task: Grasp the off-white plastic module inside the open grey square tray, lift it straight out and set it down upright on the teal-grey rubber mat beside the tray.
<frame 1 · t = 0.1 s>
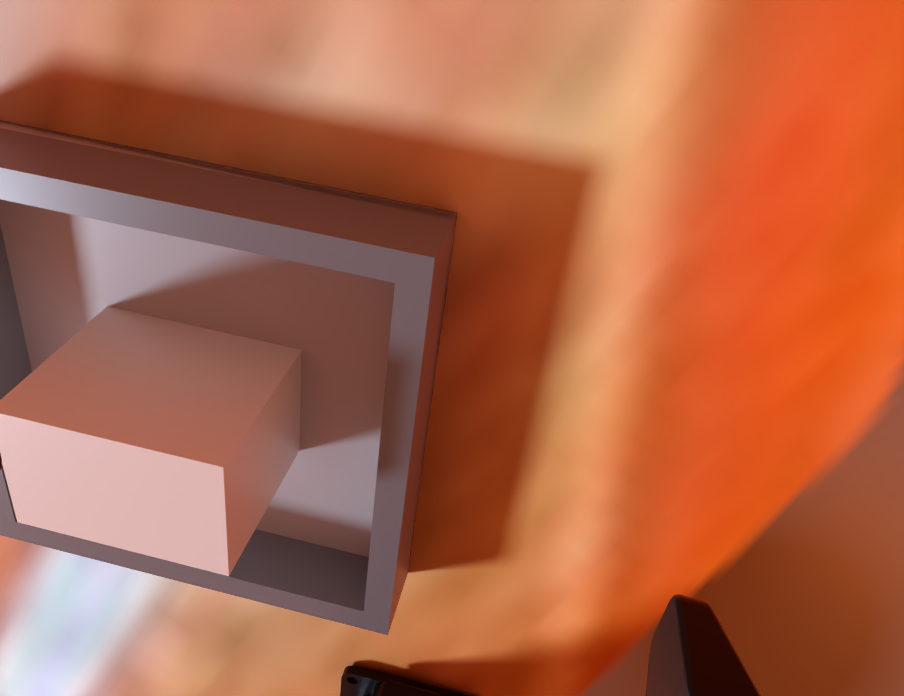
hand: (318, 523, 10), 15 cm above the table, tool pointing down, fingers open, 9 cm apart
grey square tray: (212, 372, 29), on the table
module: (206, 380, 28), resting on grey square tray
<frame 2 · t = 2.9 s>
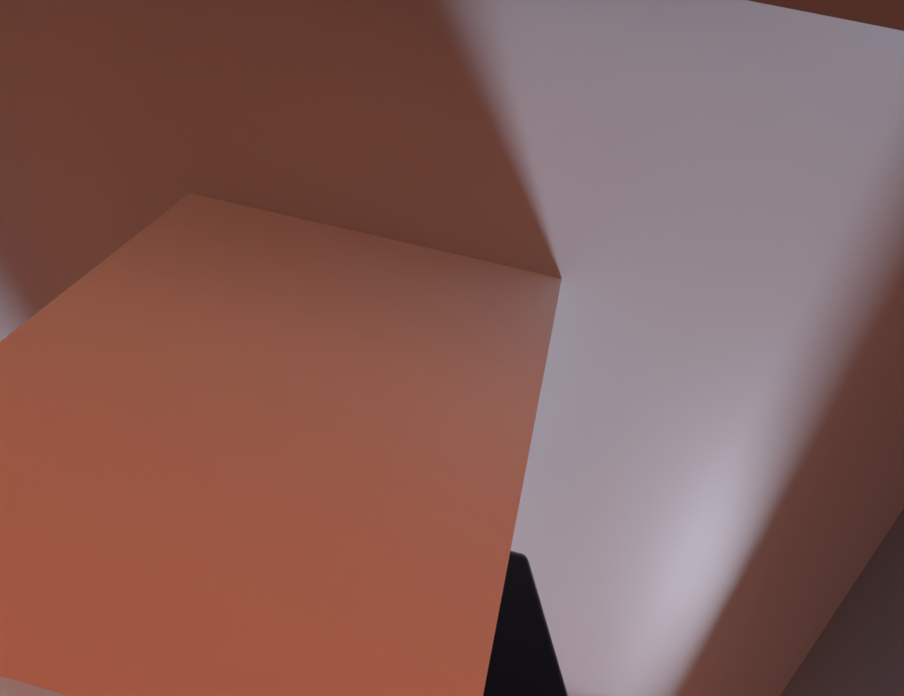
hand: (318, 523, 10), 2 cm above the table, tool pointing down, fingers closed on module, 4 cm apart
grey square tray: (359, 435, 12), on the table
module: (349, 457, 11), resting on grey square tray, touching gripper
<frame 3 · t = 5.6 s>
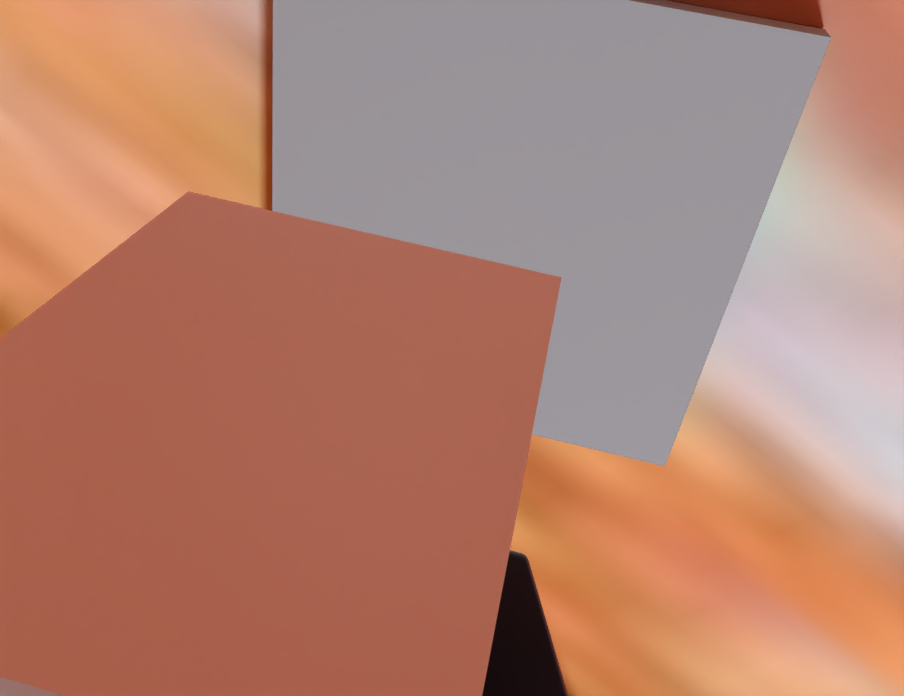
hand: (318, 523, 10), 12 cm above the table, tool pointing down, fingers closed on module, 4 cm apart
module: (348, 456, 11), point 11 cm above the table, touching gripper
mat: (501, 224, 21), on the table
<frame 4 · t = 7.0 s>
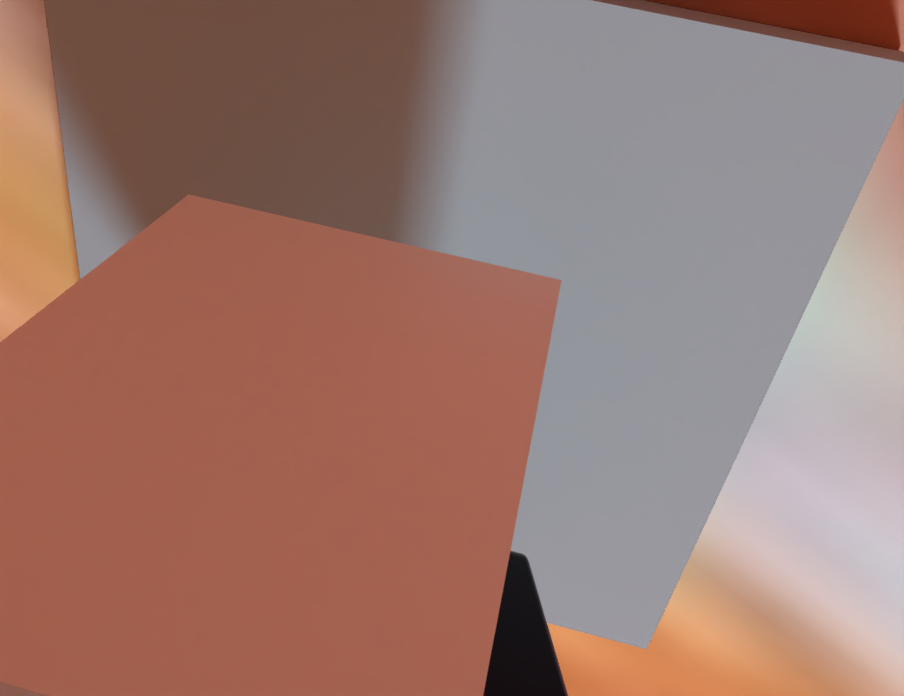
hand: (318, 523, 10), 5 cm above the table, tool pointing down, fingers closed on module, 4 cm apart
module: (348, 459, 11), point 4 cm above the table, touching gripper
mat: (412, 323, 14), on the table
when the fingers open (3 cm above the table, at t = 8.2 s): module drops 1 cm, resting on mat.
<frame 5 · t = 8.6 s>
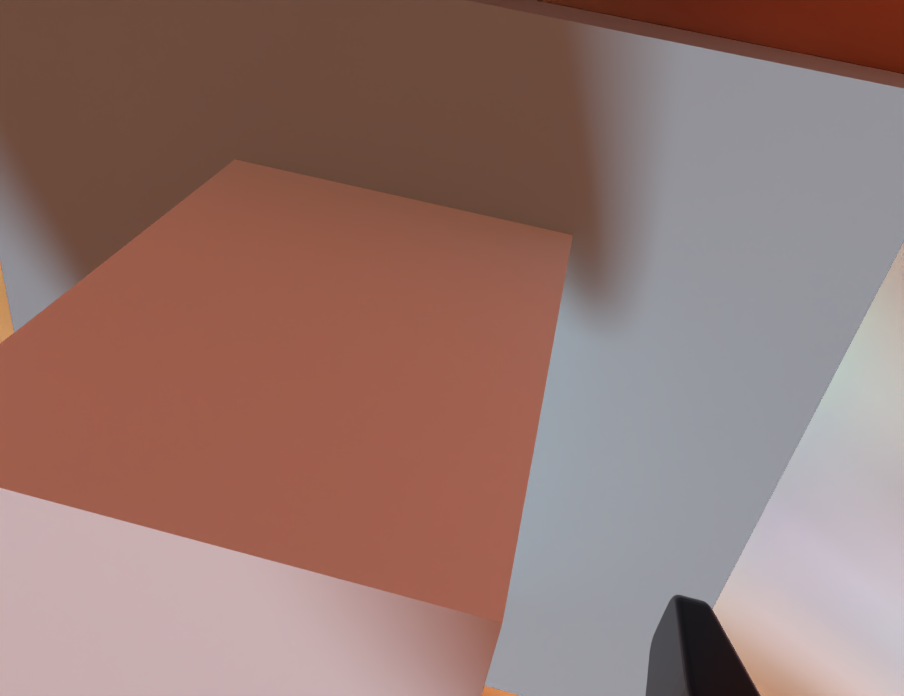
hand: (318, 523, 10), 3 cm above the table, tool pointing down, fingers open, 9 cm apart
module: (375, 407, 12), point 1 cm above the table, touching mat
mat: (386, 379, 13), on the table
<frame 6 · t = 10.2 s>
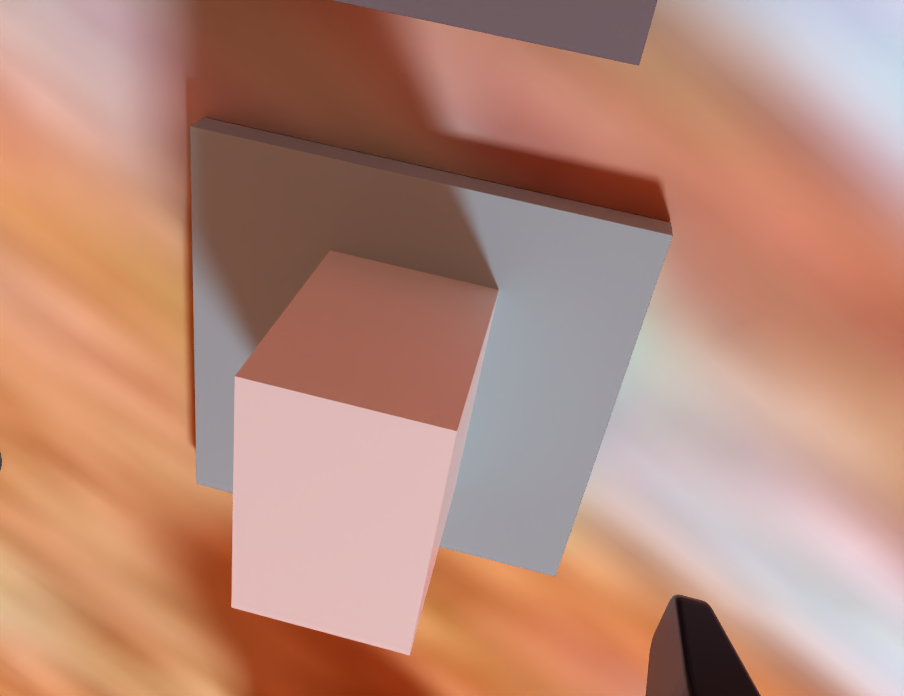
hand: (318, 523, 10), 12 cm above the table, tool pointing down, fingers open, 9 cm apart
module: (397, 379, 22), point 1 cm above the table, touching mat
mat: (402, 364, 23), on the table
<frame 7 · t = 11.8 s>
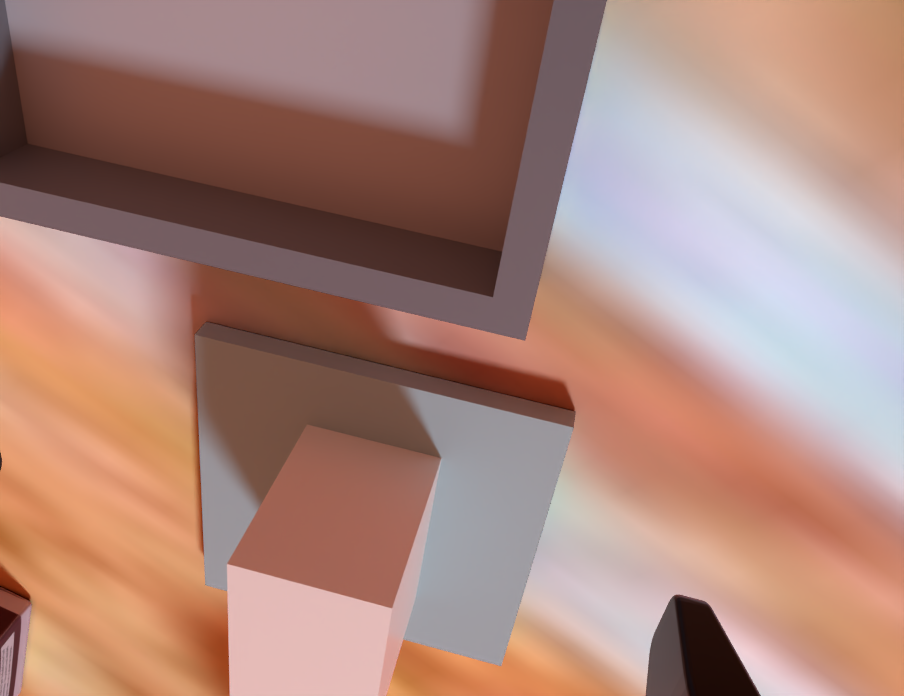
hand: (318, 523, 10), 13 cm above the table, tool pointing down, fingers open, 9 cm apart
module: (364, 517, 28), point 1 cm above the table, touching mat
mat: (370, 501, 28), on the table
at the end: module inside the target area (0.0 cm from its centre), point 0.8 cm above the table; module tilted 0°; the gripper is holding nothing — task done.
